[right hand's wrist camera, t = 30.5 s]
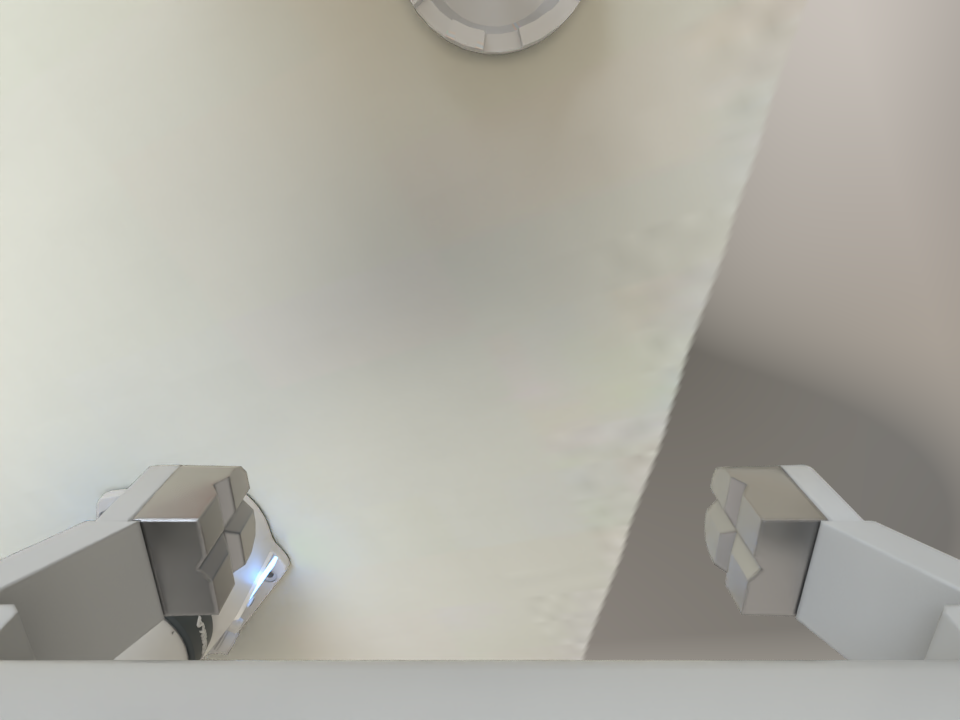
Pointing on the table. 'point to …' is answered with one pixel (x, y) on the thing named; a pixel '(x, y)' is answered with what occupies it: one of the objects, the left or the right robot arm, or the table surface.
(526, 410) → the table surface
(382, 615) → the table surface
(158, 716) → the right robot arm
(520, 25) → the flag stand
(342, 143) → the table surface
